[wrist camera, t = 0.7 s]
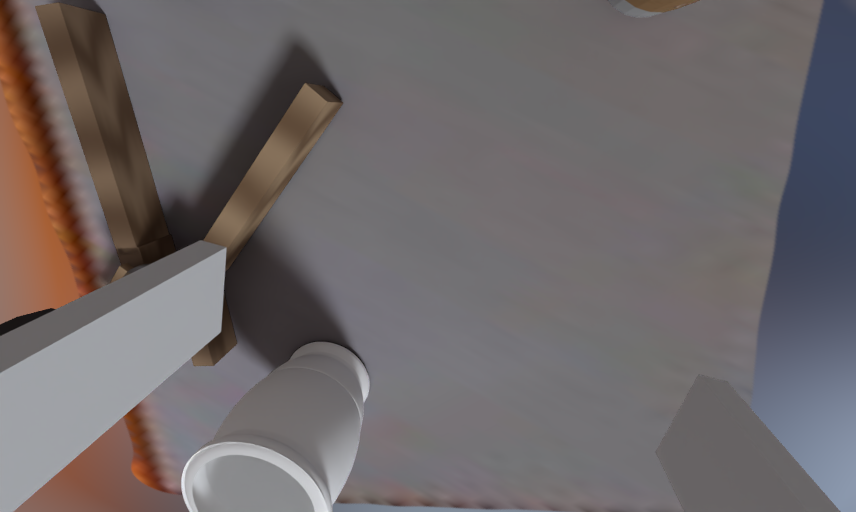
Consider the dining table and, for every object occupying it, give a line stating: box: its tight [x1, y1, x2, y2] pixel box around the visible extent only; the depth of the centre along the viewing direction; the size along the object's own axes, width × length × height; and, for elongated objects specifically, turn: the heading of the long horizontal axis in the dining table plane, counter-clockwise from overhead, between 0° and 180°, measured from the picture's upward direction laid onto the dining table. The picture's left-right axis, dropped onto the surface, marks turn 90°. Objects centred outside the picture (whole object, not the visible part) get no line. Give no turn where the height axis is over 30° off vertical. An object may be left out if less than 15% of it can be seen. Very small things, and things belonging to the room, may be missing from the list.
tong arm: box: [110, 83, 343, 283], centre depth 36 cm, size 30×6×5 cm, turn 141°
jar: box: [181, 342, 370, 512], centre depth 36 cm, size 11×10×15 cm
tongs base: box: [35, 2, 237, 366], centre depth 37 cm, size 30×6×4 cm, turn 6°
